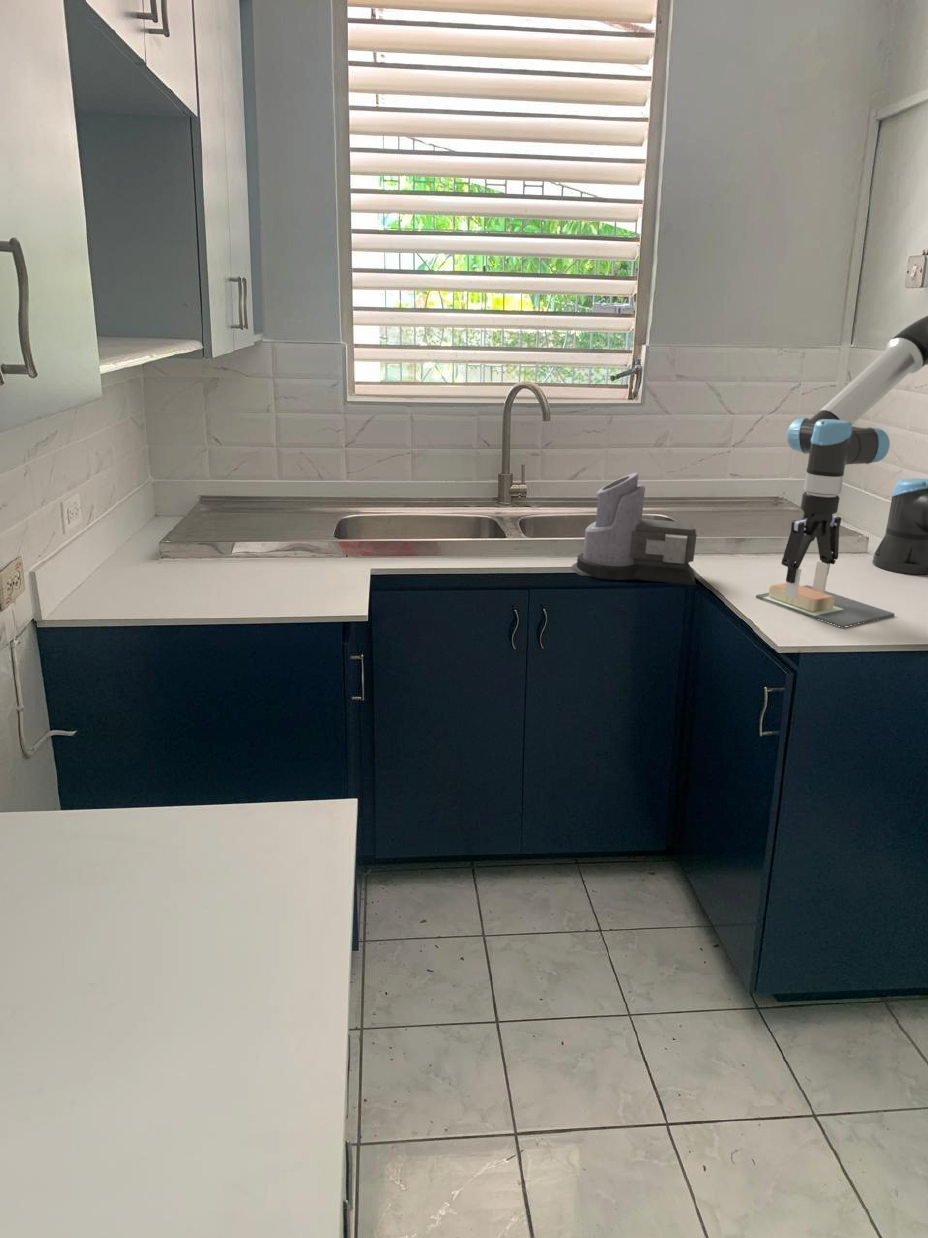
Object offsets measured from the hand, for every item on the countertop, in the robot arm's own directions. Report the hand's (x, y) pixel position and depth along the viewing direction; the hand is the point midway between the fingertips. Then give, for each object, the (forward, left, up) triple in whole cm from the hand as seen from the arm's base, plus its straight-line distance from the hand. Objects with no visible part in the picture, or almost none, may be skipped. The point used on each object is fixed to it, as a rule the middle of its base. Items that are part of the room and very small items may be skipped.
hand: (804, 593), depth 207 cm
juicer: (+17, -37, -3) cm, 41 cm away
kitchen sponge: (0, -1, -1) cm, 1 cm away
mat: (-4, +2, -3) cm, 6 cm away
